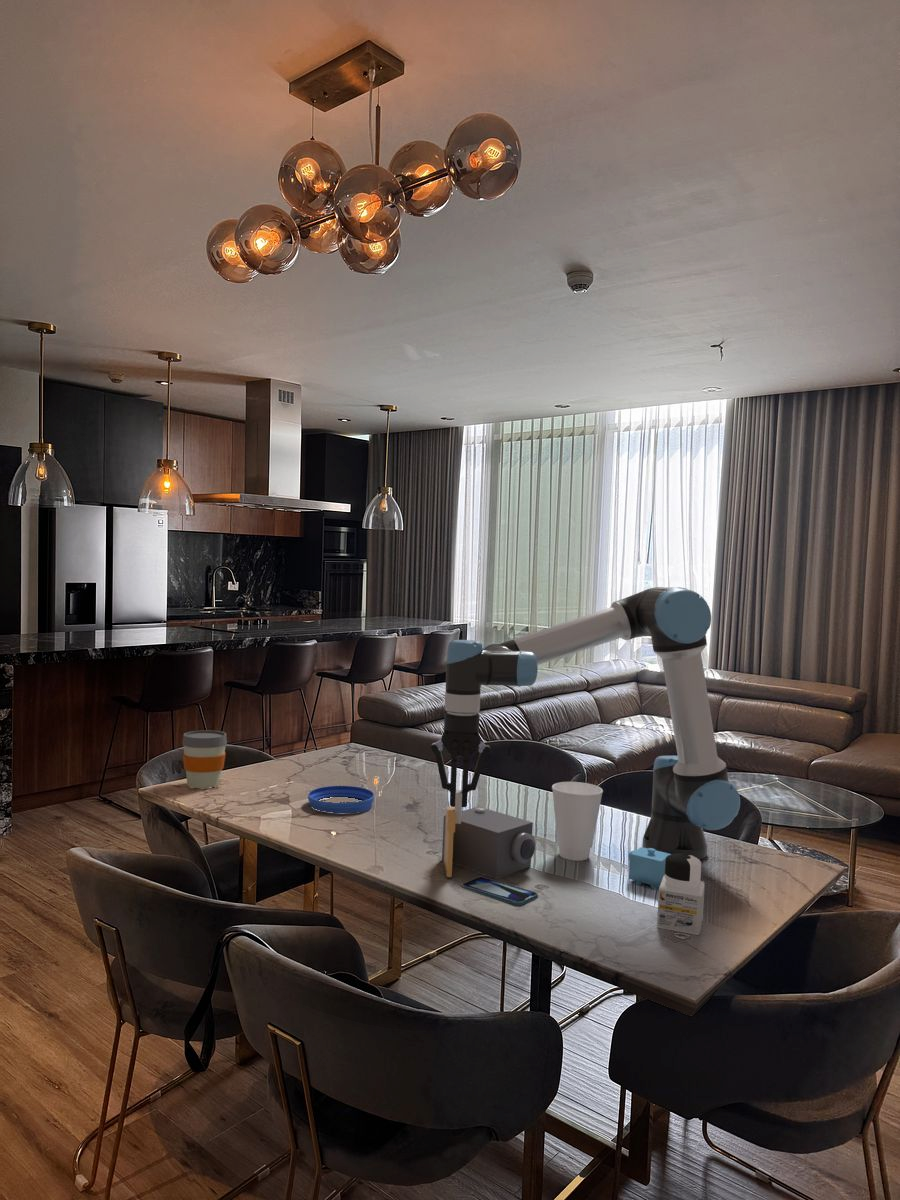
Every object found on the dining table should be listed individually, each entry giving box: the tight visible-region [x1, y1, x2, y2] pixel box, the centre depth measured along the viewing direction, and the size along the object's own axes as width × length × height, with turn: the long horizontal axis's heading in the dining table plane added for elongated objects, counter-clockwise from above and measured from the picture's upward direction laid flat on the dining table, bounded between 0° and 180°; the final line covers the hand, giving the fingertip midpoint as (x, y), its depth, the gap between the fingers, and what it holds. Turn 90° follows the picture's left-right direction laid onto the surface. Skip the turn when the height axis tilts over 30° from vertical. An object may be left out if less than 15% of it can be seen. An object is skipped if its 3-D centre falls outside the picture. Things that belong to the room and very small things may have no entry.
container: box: [656, 853, 705, 936], centre depth 158 cm, size 8×8×13 cm
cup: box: [551, 781, 604, 862], centre depth 195 cm, size 12×12×16 cm
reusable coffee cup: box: [181, 729, 228, 789], centre depth 243 cm, size 13×13×15 cm
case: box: [441, 806, 536, 880], centre depth 186 cm, size 18×12×11 cm, turn 47°
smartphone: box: [461, 876, 539, 907], centre depth 171 cm, size 7×1×15 cm
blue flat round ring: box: [307, 785, 375, 814], centre depth 229 cm, size 18×18×4 cm
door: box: [442, 806, 456, 878], centre depth 182 cm, size 11×2×14 cm, turn 4°
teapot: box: [628, 846, 671, 890], centre depth 179 cm, size 12×6×8 cm, turn 54°
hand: (457, 821), depth 179 cm, fingers closed
